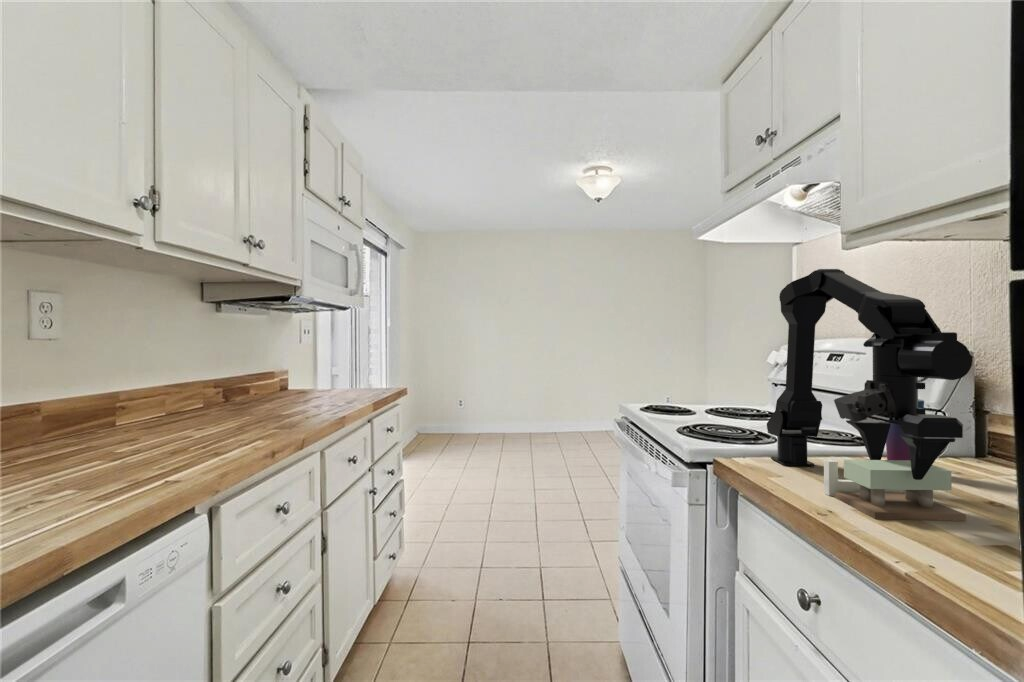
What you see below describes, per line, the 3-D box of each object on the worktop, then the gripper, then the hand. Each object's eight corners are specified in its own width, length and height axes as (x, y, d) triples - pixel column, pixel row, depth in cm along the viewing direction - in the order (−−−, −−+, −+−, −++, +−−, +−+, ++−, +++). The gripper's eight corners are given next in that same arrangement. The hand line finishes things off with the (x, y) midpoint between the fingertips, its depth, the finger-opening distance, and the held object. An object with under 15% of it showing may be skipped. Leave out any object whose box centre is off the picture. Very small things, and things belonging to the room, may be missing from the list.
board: (918, 478, 79) (917, 460, 79) (951, 490, 73) (951, 471, 73) (843, 477, 80) (843, 459, 80) (870, 489, 74) (870, 469, 74)
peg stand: (834, 497, 82) (834, 474, 82) (913, 498, 81) (913, 475, 81) (875, 518, 72) (874, 492, 72) (965, 520, 71) (965, 494, 71)
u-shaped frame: (824, 493, 84) (823, 459, 84) (906, 494, 83) (906, 460, 83) (829, 495, 83) (828, 461, 83) (913, 497, 82) (913, 462, 82)
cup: (932, 475, 95) (932, 401, 95) (894, 473, 96) (893, 400, 96) (911, 467, 102) (911, 397, 102) (875, 465, 103) (875, 397, 103)
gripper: (810, 371, 86) (811, 456, 86) (884, 379, 68) (884, 488, 68) (874, 371, 86) (874, 457, 85) (966, 379, 67) (966, 489, 67)
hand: (895, 471), depth 76 cm, fingers open, 9 cm apart
